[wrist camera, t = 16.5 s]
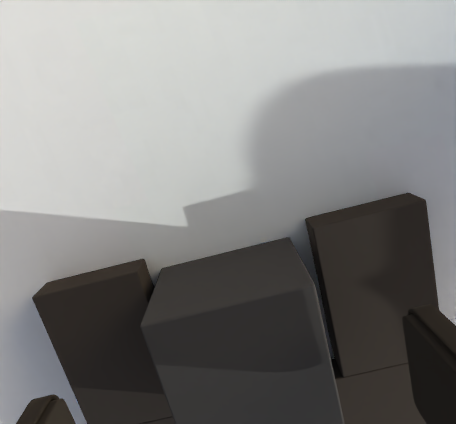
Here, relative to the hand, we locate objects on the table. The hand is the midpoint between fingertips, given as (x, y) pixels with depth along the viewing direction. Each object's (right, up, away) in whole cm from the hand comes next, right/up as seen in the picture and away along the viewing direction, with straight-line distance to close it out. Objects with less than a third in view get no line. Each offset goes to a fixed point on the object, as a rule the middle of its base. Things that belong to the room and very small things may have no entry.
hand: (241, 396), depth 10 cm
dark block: (0, +1, +5) cm, 5 cm away
